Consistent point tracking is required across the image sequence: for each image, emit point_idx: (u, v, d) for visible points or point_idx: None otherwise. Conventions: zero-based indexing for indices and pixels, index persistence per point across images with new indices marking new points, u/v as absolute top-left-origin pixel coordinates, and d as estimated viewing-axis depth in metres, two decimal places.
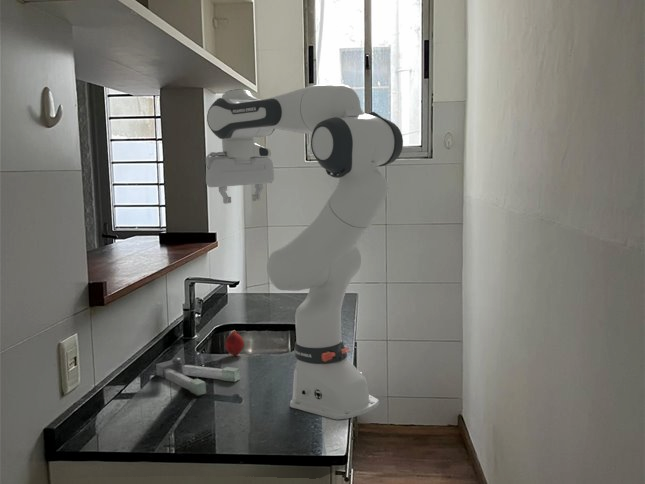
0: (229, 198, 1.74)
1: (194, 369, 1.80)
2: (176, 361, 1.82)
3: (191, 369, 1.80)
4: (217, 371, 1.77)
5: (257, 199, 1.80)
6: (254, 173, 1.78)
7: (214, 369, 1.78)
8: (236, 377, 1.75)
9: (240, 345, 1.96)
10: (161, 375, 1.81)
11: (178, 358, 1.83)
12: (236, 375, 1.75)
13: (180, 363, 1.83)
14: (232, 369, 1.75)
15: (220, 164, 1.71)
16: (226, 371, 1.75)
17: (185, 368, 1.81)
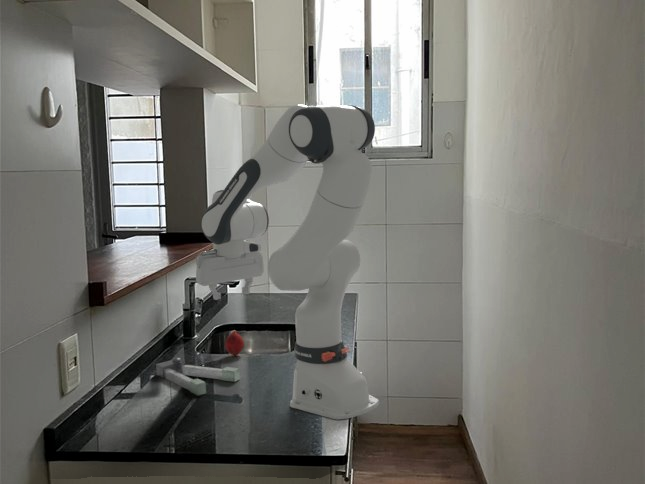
0: (219, 294, 1.77)
1: (194, 369, 1.80)
2: (176, 361, 1.82)
3: (191, 369, 1.80)
4: (217, 371, 1.77)
5: (247, 292, 1.83)
6: (244, 268, 1.80)
7: (214, 369, 1.78)
8: (236, 377, 1.75)
9: (240, 345, 1.96)
10: (161, 375, 1.81)
11: (178, 358, 1.83)
12: (236, 375, 1.75)
13: (180, 363, 1.83)
14: (232, 369, 1.75)
15: (210, 263, 1.73)
16: (226, 371, 1.75)
17: (185, 368, 1.81)
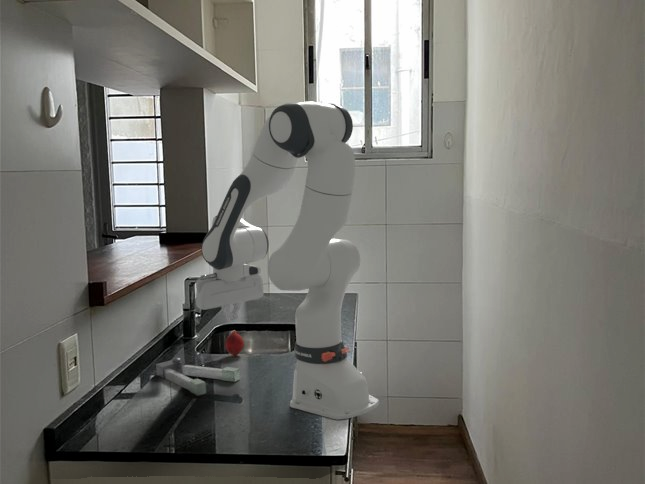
0: (231, 315, 1.80)
1: (194, 369, 1.80)
2: (176, 361, 1.82)
3: (191, 369, 1.80)
4: (217, 371, 1.77)
5: (234, 318, 1.81)
6: (244, 291, 1.81)
7: (214, 369, 1.78)
8: (236, 377, 1.75)
9: (240, 345, 1.96)
10: (161, 375, 1.81)
11: (178, 358, 1.83)
12: (236, 375, 1.75)
13: (180, 363, 1.83)
14: (232, 369, 1.75)
15: (210, 287, 1.74)
16: (226, 371, 1.75)
17: (185, 368, 1.81)
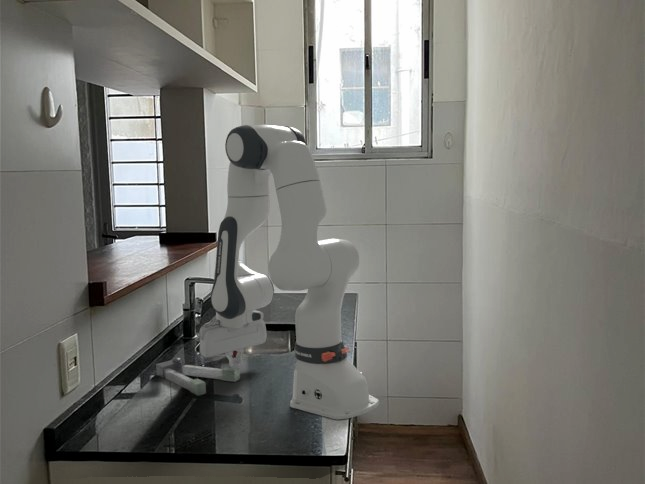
0: (235, 361, 1.82)
1: (194, 369, 1.80)
2: (176, 361, 1.82)
3: (191, 369, 1.80)
4: (217, 371, 1.77)
5: (238, 363, 1.83)
6: (247, 337, 1.83)
7: (214, 369, 1.78)
8: (236, 377, 1.75)
9: None
10: (161, 375, 1.81)
11: (178, 358, 1.83)
12: (236, 375, 1.75)
13: (180, 363, 1.83)
14: (232, 369, 1.75)
15: (214, 334, 1.76)
16: (226, 371, 1.75)
17: (185, 368, 1.81)
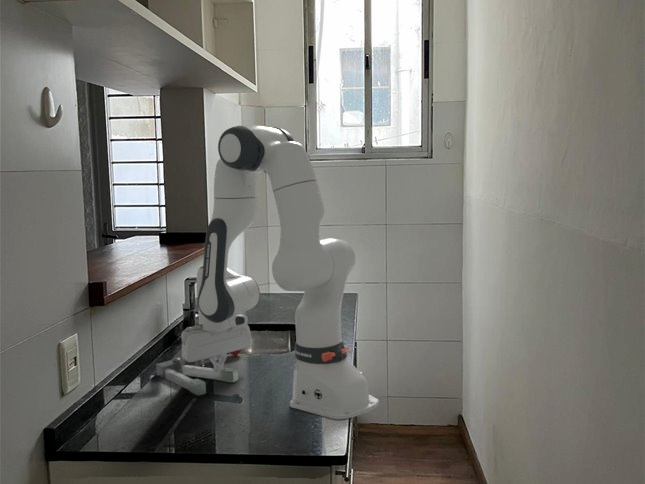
0: (219, 366, 1.79)
1: (193, 369, 1.80)
2: (176, 361, 1.82)
3: (190, 370, 1.80)
4: (216, 372, 1.76)
5: (221, 368, 1.79)
6: (231, 341, 1.79)
7: (213, 369, 1.77)
8: (235, 378, 1.74)
9: None
10: (161, 375, 1.81)
11: (178, 358, 1.83)
12: (234, 375, 1.74)
13: (180, 363, 1.83)
14: (231, 370, 1.75)
15: (196, 339, 1.72)
16: (224, 372, 1.74)
17: (185, 368, 1.81)
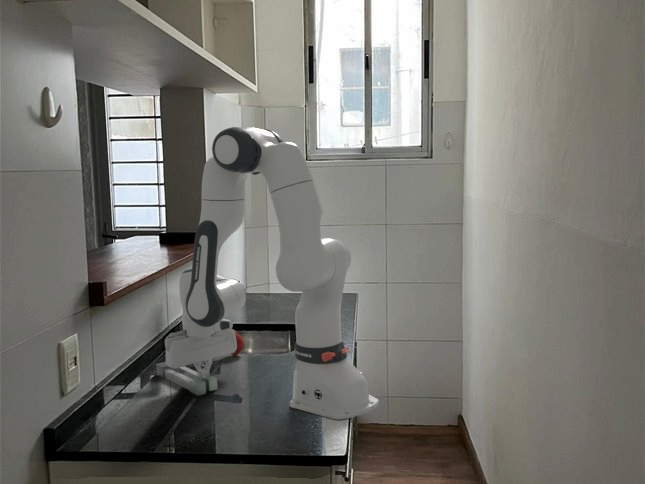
0: (204, 372, 1.75)
1: (185, 372, 1.78)
2: None
3: (183, 372, 1.79)
4: (199, 377, 1.72)
5: None
6: (216, 346, 1.76)
7: (198, 375, 1.73)
8: (212, 387, 1.68)
9: (240, 345, 1.96)
10: (161, 375, 1.81)
11: None
12: (211, 384, 1.68)
13: None
14: (209, 378, 1.69)
15: (180, 345, 1.69)
16: (203, 379, 1.69)
17: (180, 369, 1.80)
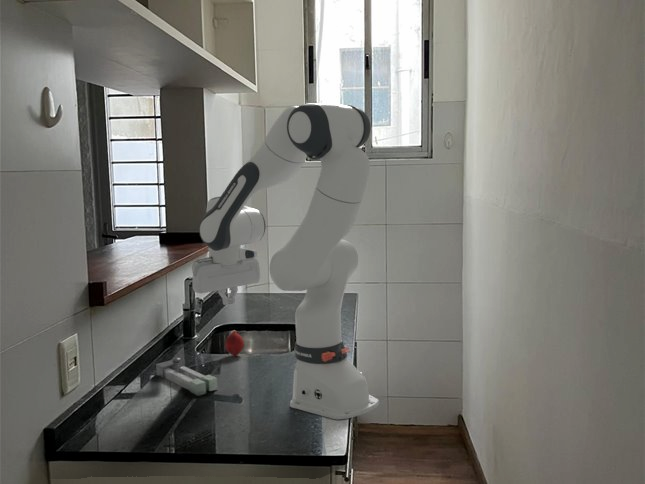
0: (228, 299, 1.79)
1: (185, 372, 1.78)
2: (174, 361, 1.82)
3: (183, 372, 1.79)
4: (199, 377, 1.72)
5: (232, 302, 1.80)
6: (241, 275, 1.80)
7: (198, 375, 1.73)
8: (212, 387, 1.68)
9: (240, 345, 1.96)
10: (161, 375, 1.81)
11: (178, 358, 1.83)
12: (211, 384, 1.68)
13: (180, 363, 1.83)
14: (209, 378, 1.69)
15: (207, 270, 1.73)
16: (203, 379, 1.69)
17: (180, 369, 1.80)
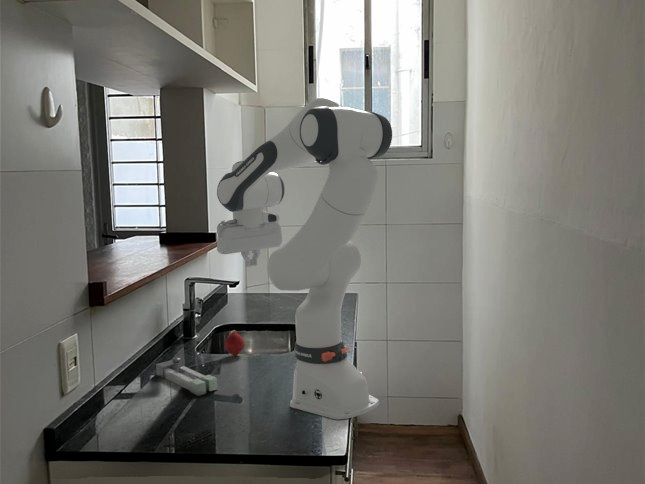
0: (251, 261, 1.84)
1: (185, 372, 1.78)
2: (174, 361, 1.82)
3: (183, 372, 1.79)
4: (199, 377, 1.72)
5: (254, 264, 1.85)
6: (263, 238, 1.85)
7: (198, 375, 1.73)
8: (212, 387, 1.68)
9: (240, 345, 1.96)
10: (161, 375, 1.81)
11: (178, 358, 1.83)
12: (211, 384, 1.68)
13: (180, 363, 1.83)
14: (209, 378, 1.69)
15: (231, 232, 1.78)
16: (203, 379, 1.69)
17: (180, 369, 1.80)
